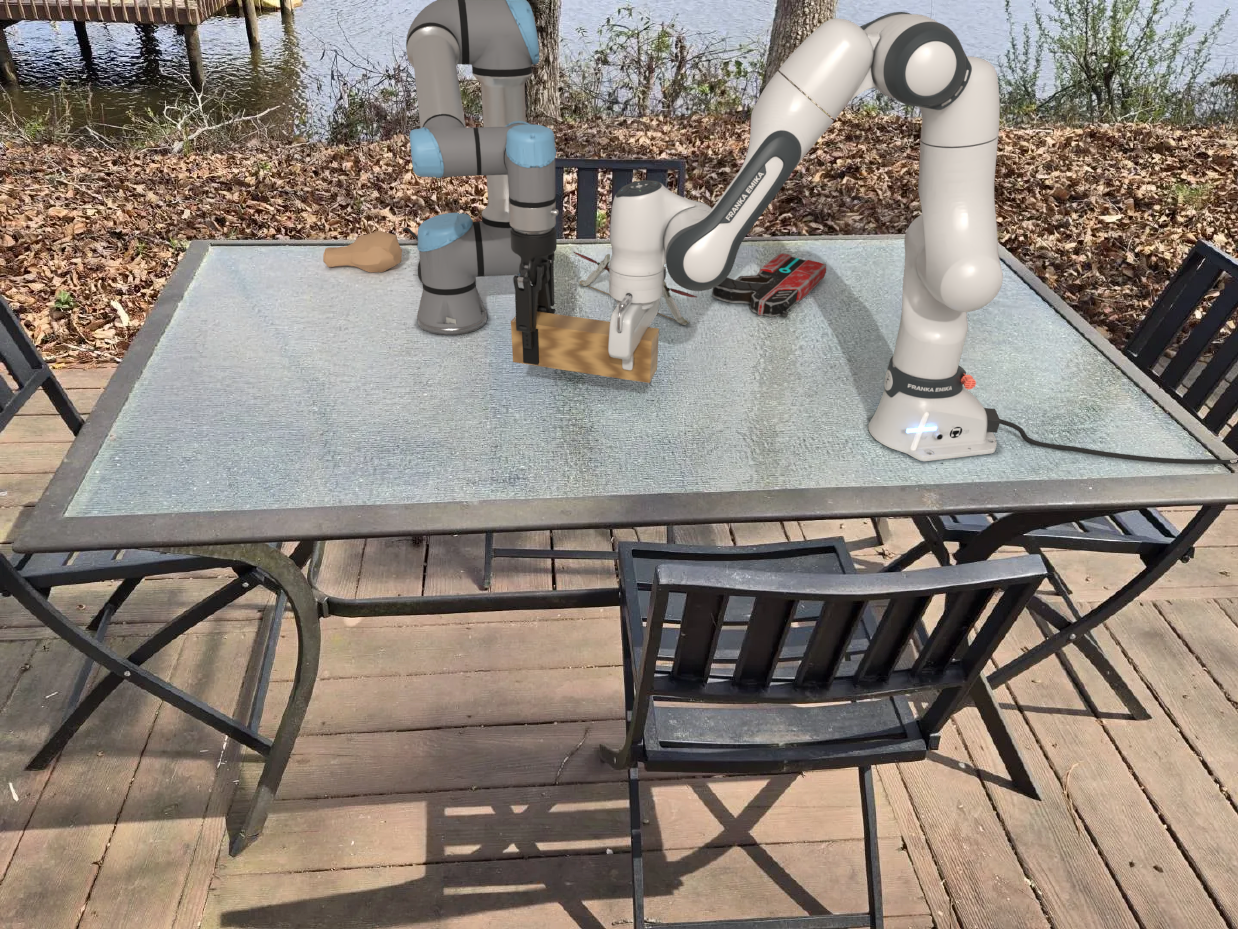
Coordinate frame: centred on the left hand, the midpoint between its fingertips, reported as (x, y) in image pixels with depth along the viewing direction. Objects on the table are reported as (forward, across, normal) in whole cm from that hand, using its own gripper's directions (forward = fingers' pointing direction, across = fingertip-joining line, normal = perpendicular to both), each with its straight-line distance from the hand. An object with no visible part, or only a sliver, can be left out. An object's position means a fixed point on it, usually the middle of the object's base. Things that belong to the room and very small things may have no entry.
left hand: (537, 355), depth 156 cm
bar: (+1, 0, -9) cm, 9 cm away
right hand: (-2, 0, -18) cm, 18 cm away
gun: (+13, +75, -33) cm, 83 cm away
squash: (+13, +56, +68) cm, 89 cm away
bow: (+13, +56, -3) cm, 58 cm away
